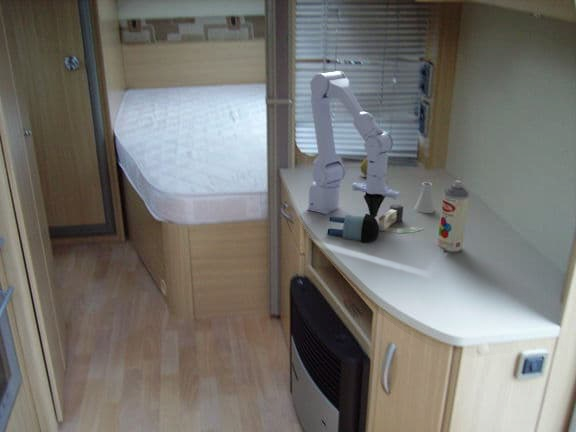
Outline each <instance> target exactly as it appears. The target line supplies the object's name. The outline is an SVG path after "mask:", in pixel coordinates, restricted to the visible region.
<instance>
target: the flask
mask: <svg viewBox="0 0 576 432" xmlns="http://www.w3.org/2000/svg"><path fill="white" fill-rule="evenodd" d="M421 185H422V187H421V188H422V190H421V193H420V195H419V198H418V200H417V202H416V203H415V205H414V207H413V209H414V210H415V211H416V212H418V213H423V214H433V213H434V212H435V206H434V202H433V198H432V190H431V189H432V186H433V184H432V183H431V182H425V181H424V182H422V183H421Z"/></svg>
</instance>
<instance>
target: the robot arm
mask: <svg viewBox="0 0 576 432" xmlns="http://www.w3.org/2000/svg"><path fill="white" fill-rule="evenodd" d="M309 85H310V91H311V92H310V93H311V96H310V103H311V109H312V111H311V112H312V117H313V123H314V124H313V125H314V131H315V138H316V139H315V141H316V145H317V147H316V148H317V154H318V155H317V157H316V158H315V160H314V161H313V162H312V163H313V164H312V165H313V170H312V179H313V181H312V182H311V183H310V186H309V190H308V207H307V208H306V209H307V210H308V211H313V212H316V213H320V214H324V215H328V214H330V213H331V212H333V211H337V210H338V209H339V208H340V190H341V189H340V186H341V184H342V181H343V179H345V177H346V173H347V172H346V168H345V165H344V163H343V159H342V157H341V156H340V155H338V154H337V152H336V145H335V137H334V130H333V124H332V122H333V121H332V115H331V109H330V103H331V102H332V100H333V99H337V100H339V102H340V103H341V104H342V105H343V106H344V107H345V109H346V110H347V111H348V113H349V114H350V116H351V117H352V118H353V126H354V127H355V129H356V130H357V132H358V133H359V135H360V136H361V138H362V139H363V140H364V144H363V145H364V149H365V152H366V158H367V159H368V164H367V176H366V181H365V183H362V182H361V183H360V182H354V183H352V185H351V190H352V191H359V192H361V193H362V192H363V193H365V194H364V195H363V199H364V200H365V202H366V205H367V208H368V212H369V213H368V214H369V215H371V216H373V217H374V218H375V219H376V217H377V216H378V213H379V210H380V208H381V205H382V203H383V201H384V200H385V198H391V199H393V200H398V199H399V198H400V191H399V190H398V191H397V190H394V189H393V188H392V189H391V188H388V187H387V186H386V183H387V170H388V158H389V152H390V151H391V150H392V149H393V147H394V146H393V145H394V139H393V138H392V136H391V134H390V133H389V132H386V131H384V129H382V128H380V126H379V125H378V123H377V122H376V120H375V118H374V116H373V114H371V113H370V112H368V111H367V112H366V111H364V110H363V108H362V107H361V104H360V103H359V101H358V99H357V97H356V96H355V94H354V93H353V91H352V88H351V87H350V80H349V79H348V77H347V76H346V74H345V73H344V71H341V70H336V71H331V72H325V73H320V72H319V73H317V74H314V76H313V77H312V79H311V80H310V83H309Z"/></svg>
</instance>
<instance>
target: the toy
mask: <svg viewBox="0 0 576 432" xmlns="http://www.w3.org/2000/svg"><path fill="white" fill-rule="evenodd" d="M329 222H331V223H339V224H343V226H342V229H339V228H328V229H327V234H329V235H334V236H341V237H342V238H343V239H345V240H346V239H347V240H354V241H360V243H365V244H366V243H371V242H373V241H375V240H376V239H378V236H379V233H380V230H379V225H378V220H377V219H376V217H375V218H374V217H373V216H371V215H370V213H365V214H364V216H359V215H351V214H346V215H345V216H344V217H342V216H335V215H332V216H329Z"/></svg>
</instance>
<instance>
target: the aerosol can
mask: <svg viewBox="0 0 576 432" xmlns="http://www.w3.org/2000/svg"><path fill="white" fill-rule="evenodd" d="M469 201H470V192H469V191H468V190H466V188H465V187H464V186H463V185H462V181H461V180H458V179H457V180H454V183H453V184H452V185H450V186H449V187H448V188H445V189H444V191H443V194H442V201H441V209H440V218H439V227H438V237H437V246H439V247H440V248H442V249H444V250H443V253H446V254H452V255H453V254H459V253H460V252H462V250H463V244H464V235H465V230H466V229H465V228H466V221H467V215H468V214H467V213H468V209H469V208H468V207H469Z"/></svg>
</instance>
